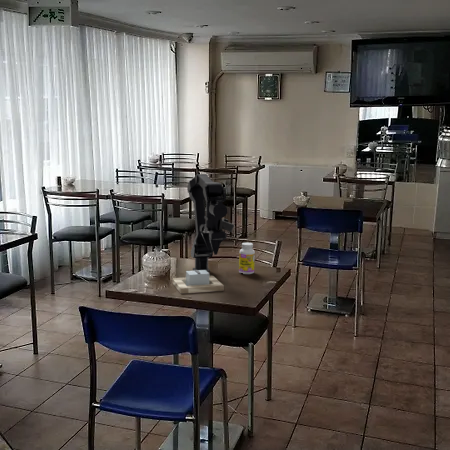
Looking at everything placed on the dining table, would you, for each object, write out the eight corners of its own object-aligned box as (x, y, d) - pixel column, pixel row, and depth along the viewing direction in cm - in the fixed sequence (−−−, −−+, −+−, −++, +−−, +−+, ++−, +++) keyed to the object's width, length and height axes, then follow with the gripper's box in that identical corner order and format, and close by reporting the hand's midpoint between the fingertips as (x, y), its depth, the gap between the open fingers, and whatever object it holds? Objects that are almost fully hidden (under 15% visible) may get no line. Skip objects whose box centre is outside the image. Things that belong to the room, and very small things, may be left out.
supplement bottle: (237, 274, 260) (237, 244, 257) (240, 270, 266) (241, 241, 264) (252, 275, 258) (253, 245, 256) (255, 271, 264) (256, 242, 262)
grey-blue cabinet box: (185, 285, 241) (185, 270, 240) (205, 284, 244) (205, 268, 242) (189, 289, 236) (189, 273, 234) (209, 288, 238) (209, 272, 237)
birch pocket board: (172, 283, 244) (172, 278, 244) (212, 280, 249) (213, 275, 249) (180, 293, 230) (180, 288, 230) (223, 290, 235) (223, 285, 234)
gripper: (239, 217, 237) (238, 256, 240) (225, 210, 254) (224, 246, 257) (211, 218, 234) (211, 257, 236) (199, 210, 251) (199, 247, 254)
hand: (212, 252), depth 246 cm, fingers open, 9 cm apart
